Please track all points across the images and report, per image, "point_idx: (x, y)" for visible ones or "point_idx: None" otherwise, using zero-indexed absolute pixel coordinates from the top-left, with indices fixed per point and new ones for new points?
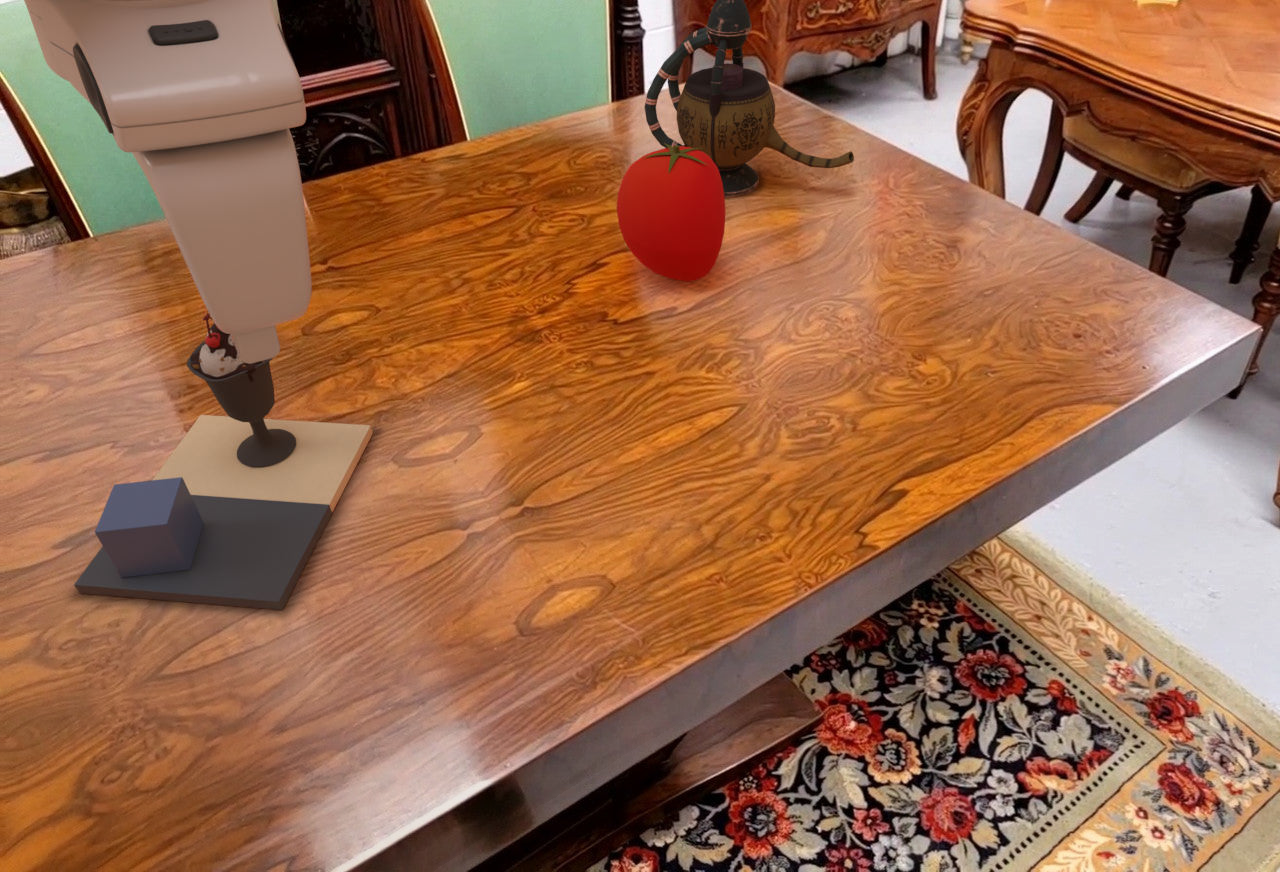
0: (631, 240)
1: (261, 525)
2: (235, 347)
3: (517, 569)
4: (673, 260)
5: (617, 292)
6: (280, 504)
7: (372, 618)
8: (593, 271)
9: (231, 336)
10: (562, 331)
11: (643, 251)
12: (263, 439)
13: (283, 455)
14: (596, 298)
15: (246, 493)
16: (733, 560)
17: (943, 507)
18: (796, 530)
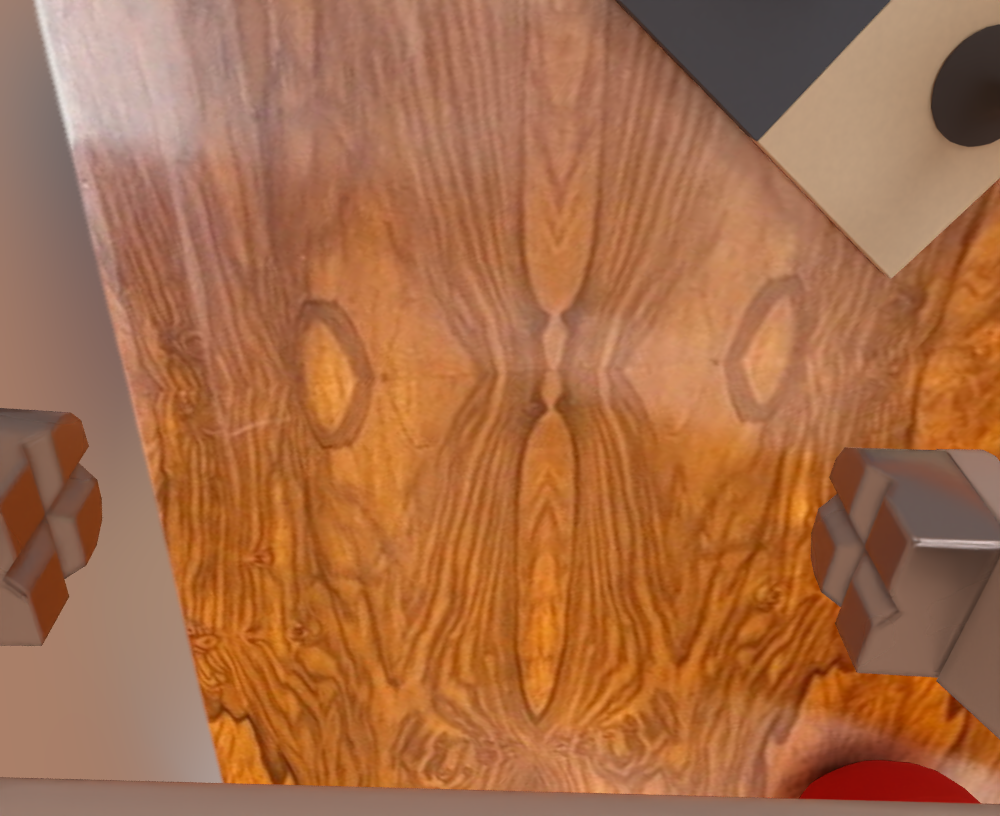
0: (912, 795)
1: (798, 6)
2: (3, 414)
3: (433, 348)
4: None
5: (877, 701)
6: (823, 59)
7: (471, 109)
8: (951, 696)
9: (42, 433)
10: None
11: (881, 792)
12: (995, 92)
13: (939, 110)
14: None
15: (902, 7)
16: (282, 587)
17: None
18: (287, 667)
